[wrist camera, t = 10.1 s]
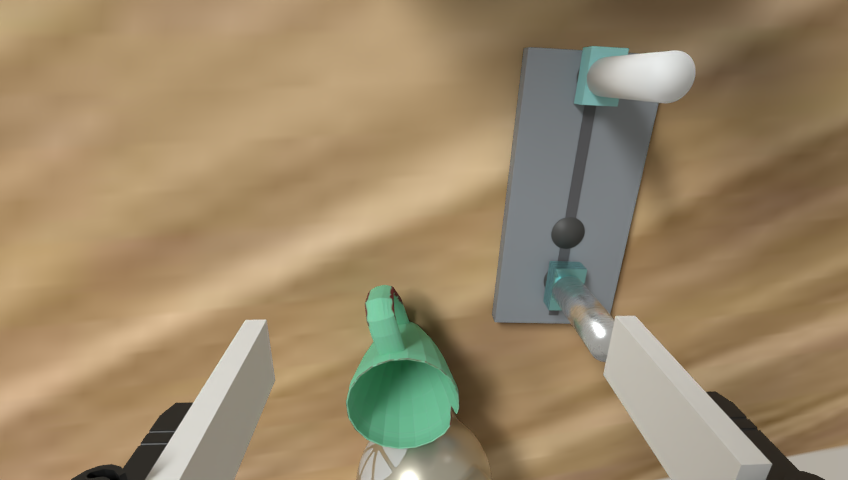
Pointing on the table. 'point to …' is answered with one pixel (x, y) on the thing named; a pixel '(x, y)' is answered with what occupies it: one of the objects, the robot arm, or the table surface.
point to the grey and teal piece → (578, 168)
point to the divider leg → (579, 306)
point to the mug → (400, 380)
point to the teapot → (429, 459)
